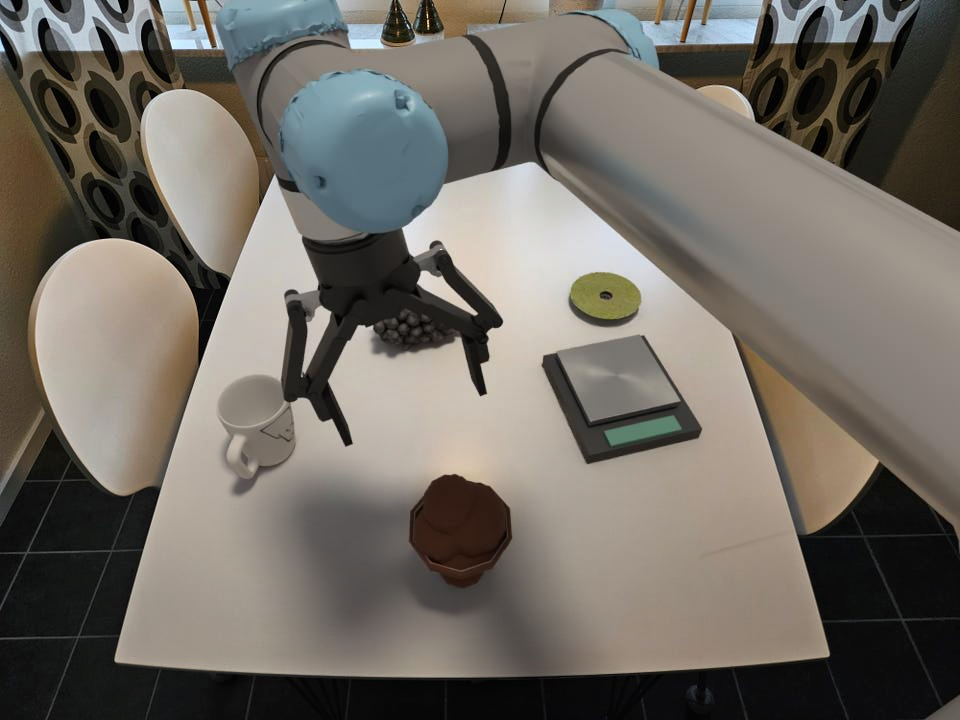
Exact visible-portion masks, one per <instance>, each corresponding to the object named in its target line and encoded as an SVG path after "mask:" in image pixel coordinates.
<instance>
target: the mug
mask: <svg viewBox="0 0 960 720" xmlns="http://www.w3.org/2000/svg"><path fill="white" fill-rule="evenodd" d="M215 411H216V415H217V418H218V419H219V422H220V423H221V425H222V426H223V428H224V430H225V431H226V432H227V434H228V436H229V437H230V439H231V441H230V443H229V445H228V448H227V450H226V455H225V457H226V462H227V464H228V466H229V467H230V468H231V469H232V470H233V471H234V472H235V473H236V474H237V475H238V476H239V477H240V478H241V479H247V480H250V479H252V478H253V477H254V476H255V475H256V473H257V471H258V468H259V466H261V467H272V466H276V465H278V464H280V463H282V462H284V461H286V460H287V459H288V458H289V457H290V455H291V454H292V453H293V451H294V449H295V444H296V434H295V433H296V432H295V420H294V419H295V418H294V413H293V408H292V404H291V403H290V402H286V401H285V400H284V396H283V391H282V385H281V379H280V378H278V377H277V376H273V375H270V374H267V373H252V374H248V375H243V376H241V377H238V378H236V379H235V380H233V381H231V382H230V383H229V384H227V385H226V386H225V387H224V388H223V389H222V391H220V393H219V394H218V397H217V399H216V403H215ZM242 454H244V456H245V457H246V458H247V463H246V464H245V463H244V462H243V460H242Z"/></svg>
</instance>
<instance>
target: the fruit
mask: <svg viewBox="0 0 960 720" xmlns="http://www.w3.org/2000/svg"><path fill="white" fill-rule="evenodd" d="M400 314H401V316H399V317H396V318H393V319H385V320H382V321H380V322H378V323H377V324H375V325H373V326H372V330H373V332H374V333H375V334H378V337H379V340H380V341H381V342H382V343H386V344H387V343H390V342H393V343H395V344H398V346H399V348H400V349H402V350H407V349H409V348H410V347H411V345H412V343H415V344H418V343H420V342H421V343H426V342H427V341H429V339H430V338H431V340H432V341H433V342H440V341H441V340H442V339H445V338H447V337H449V336H454V335H455V334H456V333H457V332H458V331H456V330H454V329H452V328H450V327H448V326H446V325H444V324H441V323H439V322H437V321H435V320H433V319H431V318H429V317H427V316H425V315H422V316H420V315H418V314H416V313H414V312H412V311H410V310H407V309H405V310H404V311H402V312H401V313H400Z"/></svg>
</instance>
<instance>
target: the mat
mask: <svg viewBox="0 0 960 720" xmlns="http://www.w3.org/2000/svg"><path fill="white" fill-rule="evenodd" d="M569 293H570V298H571V299H570V300H571V301H572V303H573V304H574V305H575V306H576V308H577V309H580V311H581V312H583V313H585V314H587V315H589V316H590V317H593V318H597V319H603V320H615V319H616V320H619V319H623V318H625V317H628V316H630V315H631V314H634V313H635V312H637V310H638V309H639V307H640V306H641V304H642V294H641V292H640V289H639V288H638V287H637V285H636V284H635V283H634V282H632V281H631V280H630V279H628V278H626V276H625V277H624V275H619V274H616V273H613V272H607V271H606V272H605V271H594V272H590V273H586V274H583V275H581V276H580V277H578V278H576V280H575V281H573V283H572V285H571V287H570V291H569Z"/></svg>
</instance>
